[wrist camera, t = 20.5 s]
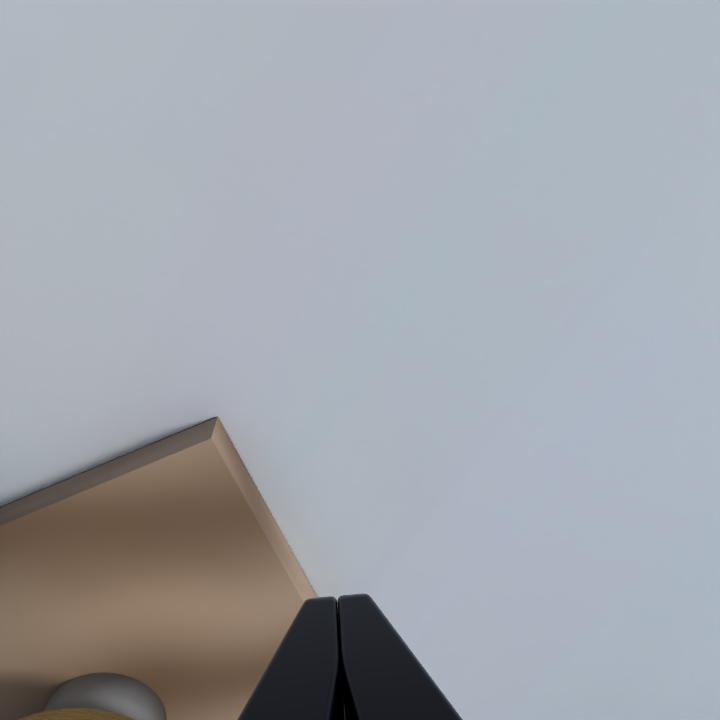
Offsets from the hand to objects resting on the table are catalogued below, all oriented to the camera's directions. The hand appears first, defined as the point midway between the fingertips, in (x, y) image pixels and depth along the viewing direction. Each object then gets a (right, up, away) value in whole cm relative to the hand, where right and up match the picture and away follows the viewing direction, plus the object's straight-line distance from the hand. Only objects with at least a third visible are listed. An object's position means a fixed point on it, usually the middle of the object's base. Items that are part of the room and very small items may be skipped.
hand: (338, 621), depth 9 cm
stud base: (-8, -8, +15) cm, 19 cm away
